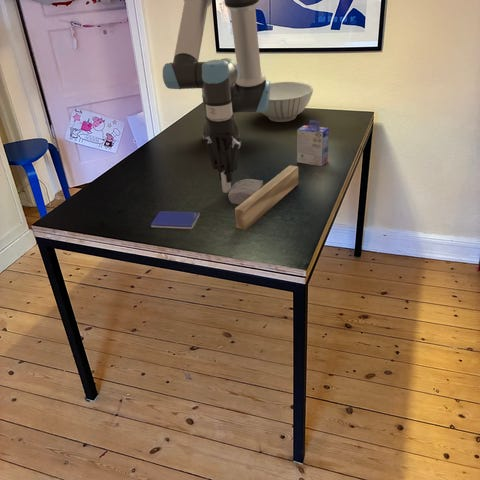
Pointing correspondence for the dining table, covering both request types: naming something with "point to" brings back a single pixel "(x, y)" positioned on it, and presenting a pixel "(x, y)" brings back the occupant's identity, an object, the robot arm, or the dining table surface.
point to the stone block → (244, 190)
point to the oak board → (266, 197)
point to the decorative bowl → (287, 100)
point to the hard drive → (175, 219)
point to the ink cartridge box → (312, 144)
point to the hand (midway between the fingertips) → (227, 190)
